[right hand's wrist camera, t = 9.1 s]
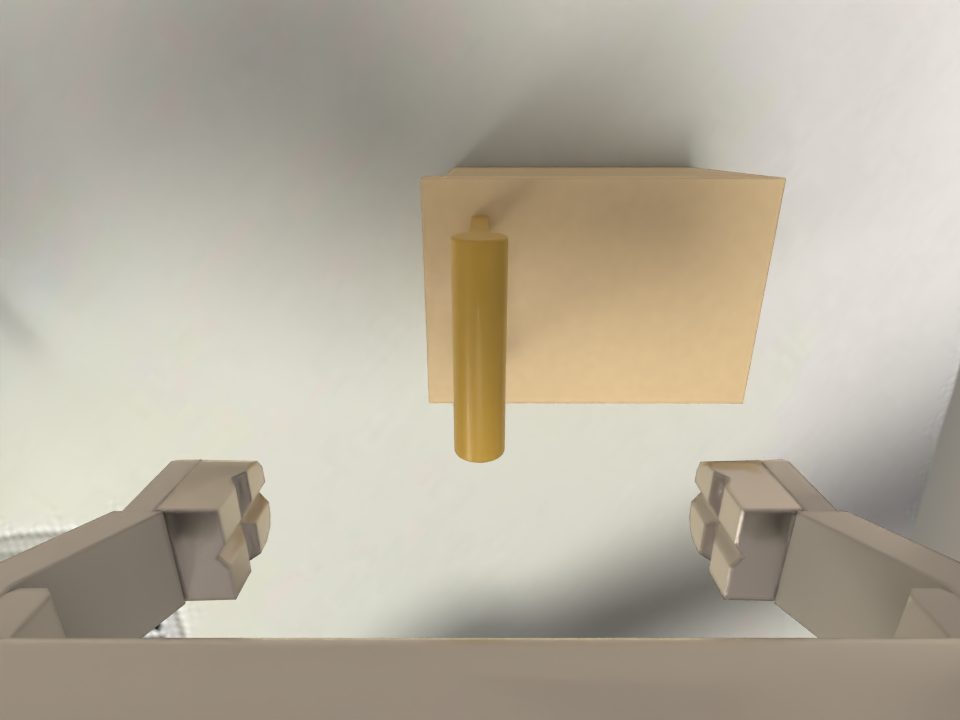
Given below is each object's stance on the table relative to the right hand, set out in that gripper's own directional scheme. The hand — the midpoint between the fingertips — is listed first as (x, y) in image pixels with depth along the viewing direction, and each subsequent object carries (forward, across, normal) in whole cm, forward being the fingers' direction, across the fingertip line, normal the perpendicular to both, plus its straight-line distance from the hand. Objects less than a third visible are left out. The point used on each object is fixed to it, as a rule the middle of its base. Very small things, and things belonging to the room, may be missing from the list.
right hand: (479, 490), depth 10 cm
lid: (+15, +5, 0) cm, 16 cm away
